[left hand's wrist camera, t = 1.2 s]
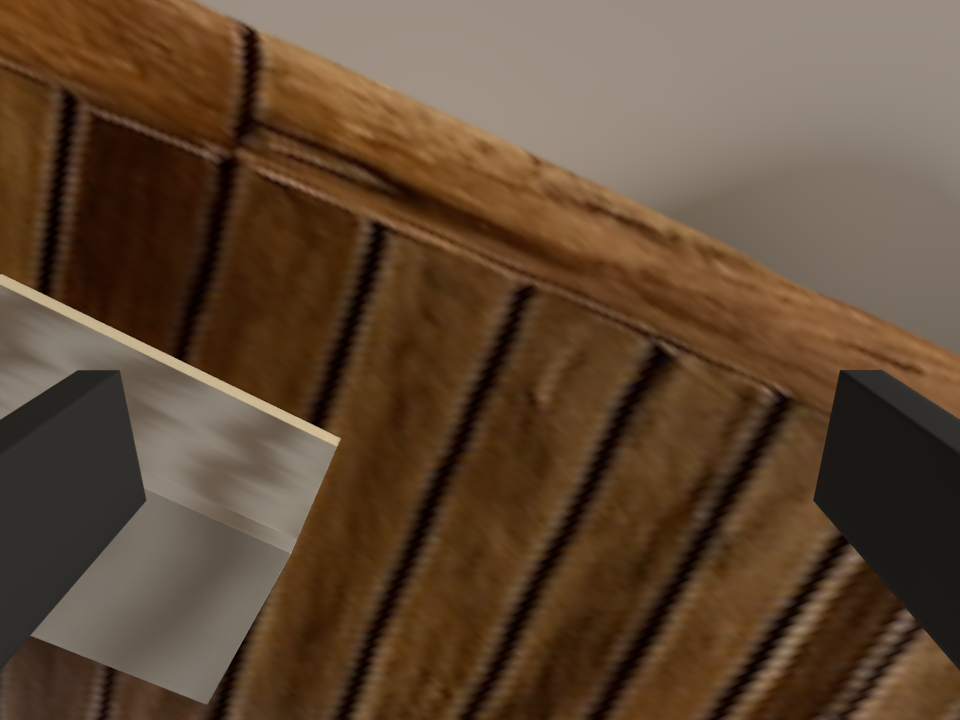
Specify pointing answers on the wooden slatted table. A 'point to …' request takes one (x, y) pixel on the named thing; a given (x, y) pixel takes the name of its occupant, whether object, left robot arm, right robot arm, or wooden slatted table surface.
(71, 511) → the left robot arm
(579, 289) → the wooden slatted table surface
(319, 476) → the cabinet
